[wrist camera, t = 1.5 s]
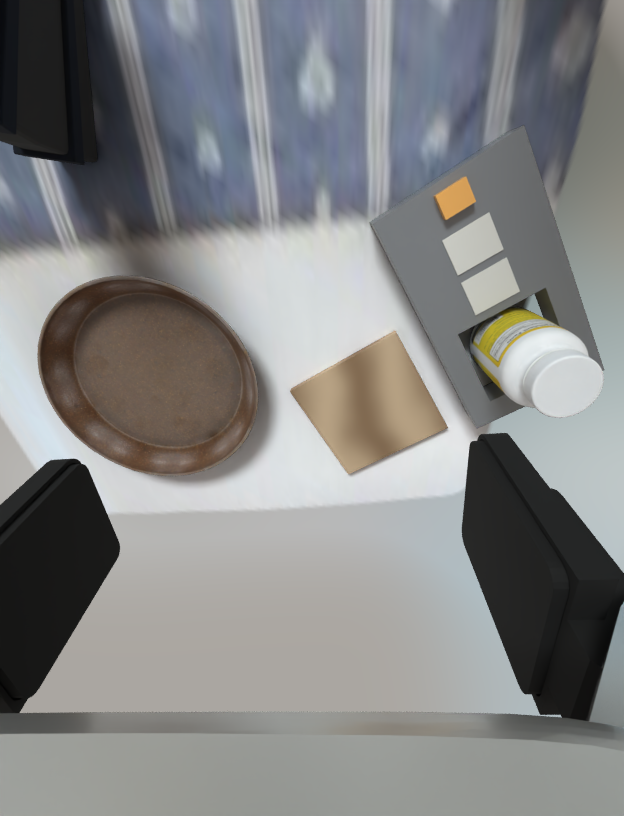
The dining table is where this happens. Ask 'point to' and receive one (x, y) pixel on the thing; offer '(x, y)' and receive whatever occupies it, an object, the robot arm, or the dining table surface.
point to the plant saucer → (147, 375)
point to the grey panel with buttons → (482, 259)
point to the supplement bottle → (536, 362)
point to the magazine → (46, 81)
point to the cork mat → (370, 404)
